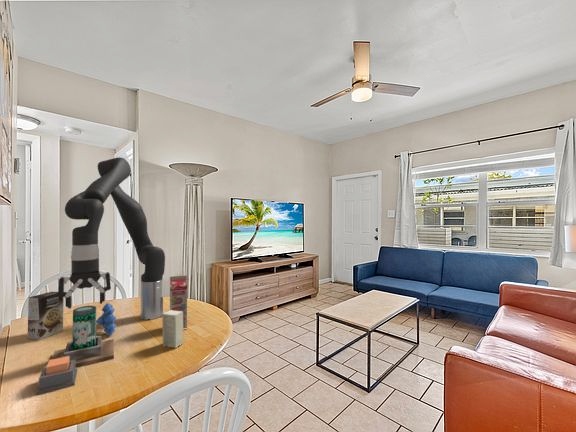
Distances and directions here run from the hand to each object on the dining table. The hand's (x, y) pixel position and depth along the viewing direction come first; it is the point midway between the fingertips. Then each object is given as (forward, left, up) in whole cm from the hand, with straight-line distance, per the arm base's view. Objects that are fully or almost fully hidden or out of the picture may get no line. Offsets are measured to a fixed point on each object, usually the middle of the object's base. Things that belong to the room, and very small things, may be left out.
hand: (85, 305), depth 93 cm
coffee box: (+14, -29, -18) cm, 37 cm away
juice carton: (-32, -9, -18) cm, 37 cm away
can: (0, 0, -16) cm, 16 cm away
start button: (+5, +14, -14) cm, 21 cm away
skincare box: (-27, +7, -18) cm, 33 cm away
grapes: (-6, -17, -18) cm, 25 cm away
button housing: (+5, +14, -17) cm, 23 cm away
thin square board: (0, 0, -17) cm, 17 cm away
